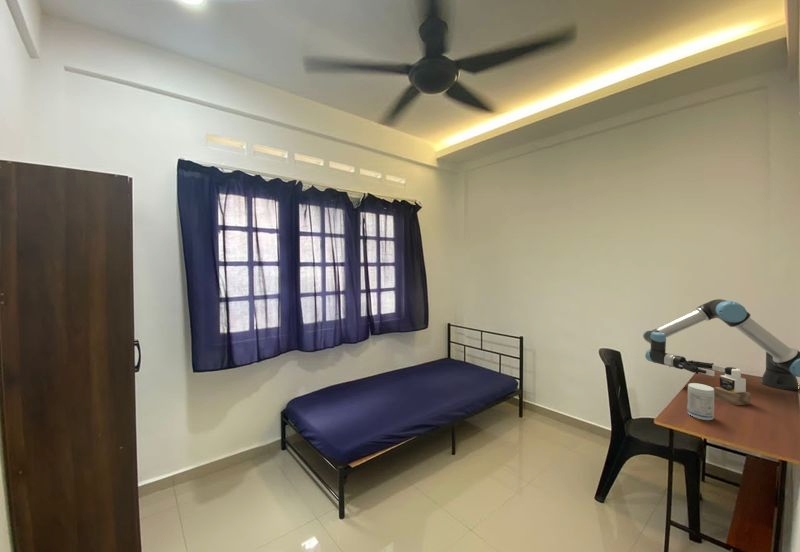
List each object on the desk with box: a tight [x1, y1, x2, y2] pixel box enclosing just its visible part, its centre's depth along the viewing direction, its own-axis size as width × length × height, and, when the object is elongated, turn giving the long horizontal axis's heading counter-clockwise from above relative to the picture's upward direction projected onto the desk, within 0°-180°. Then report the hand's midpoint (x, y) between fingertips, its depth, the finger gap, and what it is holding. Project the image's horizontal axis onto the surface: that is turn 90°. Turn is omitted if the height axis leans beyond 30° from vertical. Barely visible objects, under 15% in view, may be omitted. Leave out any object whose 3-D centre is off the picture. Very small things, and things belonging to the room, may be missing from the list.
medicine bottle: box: [719, 366, 747, 393], centre depth 174 cm, size 7×7×12 cm
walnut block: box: [713, 386, 752, 406], centre depth 175 cm, size 10×10×6 cm
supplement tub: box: [686, 382, 715, 421], centre depth 157 cm, size 10×10×15 cm
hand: (721, 372), depth 178 cm, fingers open, 13 cm apart
